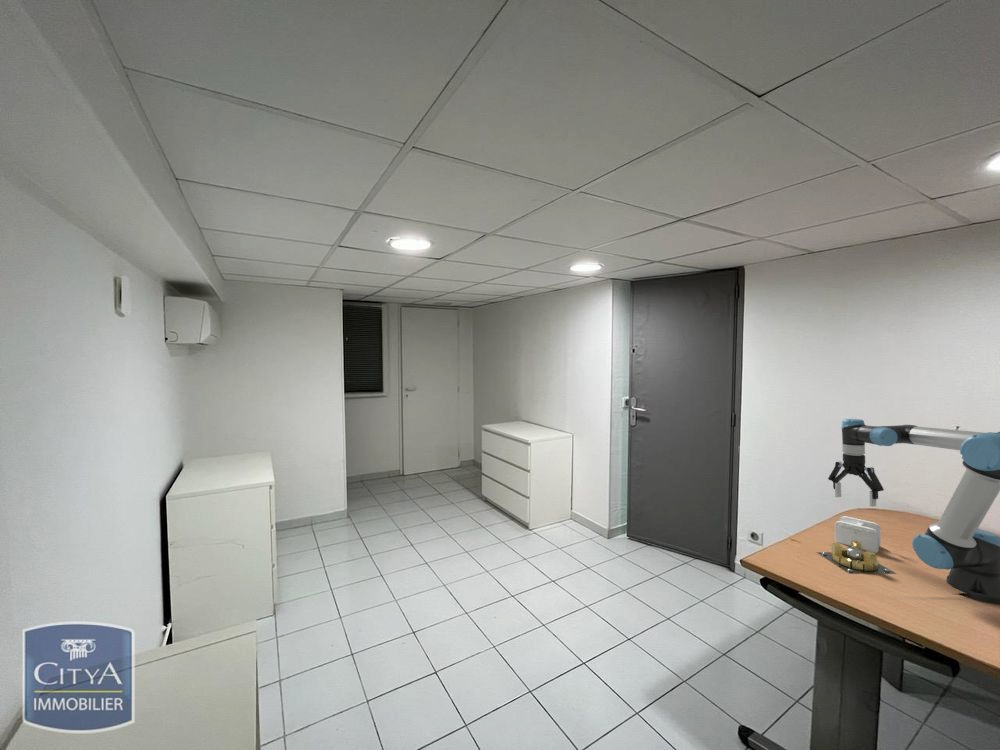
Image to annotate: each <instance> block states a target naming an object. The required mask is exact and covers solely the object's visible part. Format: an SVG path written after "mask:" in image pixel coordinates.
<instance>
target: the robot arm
mask: <svg viewBox="0 0 1000 750" xmlns="http://www.w3.org/2000/svg"><path fill="white" fill-rule="evenodd" d="M841 439H842V440H841V441H842V442H841V444H842V447H841V448H842V449H841V450H842V461H843V462H842V461H836V462H835V463H834V467H833V469H832V471H831V473H830V474H829V476H828V477H827V479H828V481H831V482H832V483H833V486H832V487H833V490H834V493H835V494H834V495H835V498H841V497H842V482H840V481H841V480H843V478H845V477H846V476H848V475H854V476H858V477H859V478H861V479H862V481H863V482H864V483H865V485H866V486H867V487H868V488H869V489H870V490H869V507H871V508H873V507H876V506H877V500H879V492H883V491H884V490H885V489H884V487H883V485H882V483H881V482H880V479H879V478H878V476H877V474H876V472H875V468H874V467H873V466H871V467H867V466H865V465H866V455H865V454H866V444H870V445H877V446H879V447H880V446H881V447H883V446H884V447H892V446H893V445H896V444H908V445H916V446H917V445H918V446H922V447H923V446H924V447H932V448H940V449H946V450H952V451H953V450H954V451H959V454H960V455H961V459H962V460H963V461H962V463H961V464H962V465H963V467H964V468H965V471H964V472H963V475H962V478H960V481H959V483H958V484H957V487H956V488H955V490H954V491H953V493H952V496H951V497H950V499H949V501H948V504H947V505H946V507H945V509H944V511H943V513H942V514H941V517H940V518H939V520H938V521H937V522H932V523H930V524H929V526H928V528H927V529H926V531H925V532H924V533H921V534H918V535H915V536H914V537H913V539H912V541H911V542H912V544H911V545H912V548H913V551H914V552H915V555H916V556H917V558H919V560H920V561H922V562H923V563H924V564H925V565H927V566H929V567H931V568H933V569H936V570H937V569H938V570H946V571H947V570H949V573H948V575H947V576H946V578H945V579H946V580H945V581H946V583H947V584H948V585H949V586H950V587H952V588H953V589H955V590H957V591H960V592H961V593H960V592H959V593H958V594H959V595H961V596H963V597H967V598H969V599H973V600H976V601H979V602H980V601H981V602H984V603H989V604H995V605H996V604H997V605H1000V535H997V534H996V533H993V532H991V531H988V530H985V529H981V528H979V527H980V525H981V524H982V522H983V521H984V519H985V517H986V516H987V514H988V512H989V510H990V509H991V507H992V505H993V504H994V502H995V500H996V498H997V497H998V495H999V494H1000V431H997V432H990V431H989V432H983V431H982V432H981V431H971V430H961V429H950V428H949V429H948V428H936V427H928V426H927V427H925V426H918V425H915V424H902V425H880V426H877V425H875V426H873V425H866V424H865V420H863V419H860V418H844V419H842V421H841ZM842 467H843V470H842V471H841V469H842ZM840 471H841V472H840ZM962 592H963V593H962Z"/></svg>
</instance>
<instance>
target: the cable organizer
mask: <svg viewBox="0 0 1000 750" xmlns="http://www.w3.org/2000/svg"><path fill="white" fill-rule="evenodd" d="M881 529H882V528H881V526H880V525H879V524H878V523H876V522H873V521H869V520H864V519H859V518H856V517H851V516H846V515H844V516H841V517H839V520H837V521H836V522H835V523H834V541H835V542H834V543H838V544H840V545H841V544H843V545H846V546H848V547H851V541H852V540H855V541H859V542H862V551H866V552H867V551H871V552H873V553H875V554H877V553H878V552H879V548H880V546H881V545H882V544H881V542H882V541H881V539H882V538H881V537H882V536H881V535H882V533H881Z"/></svg>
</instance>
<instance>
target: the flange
mask: <svg viewBox="0 0 1000 750" xmlns="http://www.w3.org/2000/svg"><path fill="white" fill-rule="evenodd" d="M846 548H847V556H843V557H845V558H848V559H851V560H855V561H864V560H862V559H861V550H860V549H858V548H854V547H851V546H848V547H846ZM816 554H818V555H819V556H820V557H822V558H824V559H826V560H828V561H829V562H830V563H831V564H833V565H834V566H836V567H838V568H839V569H841V570H842V571H844V572H845V573H847V574H850V575H852V574H853V575H860V574H861V575H870V574H871V575H872V574H873V575H886V574H887V575H891V574H892V575H897V573H896V572H894V571H893V570H891V569H889V568H887V567H886V566H884V565H882V564H881V563H879V562H878V569H876V570H873V571H864V570H858V569H853V568H852V567H851V568H849V567H847V566H844V565H841V564H839V563H837V562H836V561H834V560H833V559H832V556H831V552H830V551H829V552H828V551H826V552H824V551H817V552H816Z"/></svg>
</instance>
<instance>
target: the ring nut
mask: <svg viewBox="0 0 1000 750" xmlns="http://www.w3.org/2000/svg"><path fill="white" fill-rule="evenodd" d="M850 547H854V548H858V549H860V550H861V559H862V560H864V561H855V560H851V559H848V558H845V557H843V556H847V547H846V548H845V547H843V546H842V545H841V543H838V542H831V550H830V551H831V556H832V559H833V560H834V561H836V562H837V563H839V564H841V565H844V566H847V567H849V568H851V567H852V568H853V569H858V570H864V571H873V570H876V569H878V563H879V560H878V559H877V553H875V552H871V551H867V550H866V551H863V549H862V542H859V541H855V540H852V541H851V546H850Z"/></svg>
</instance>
